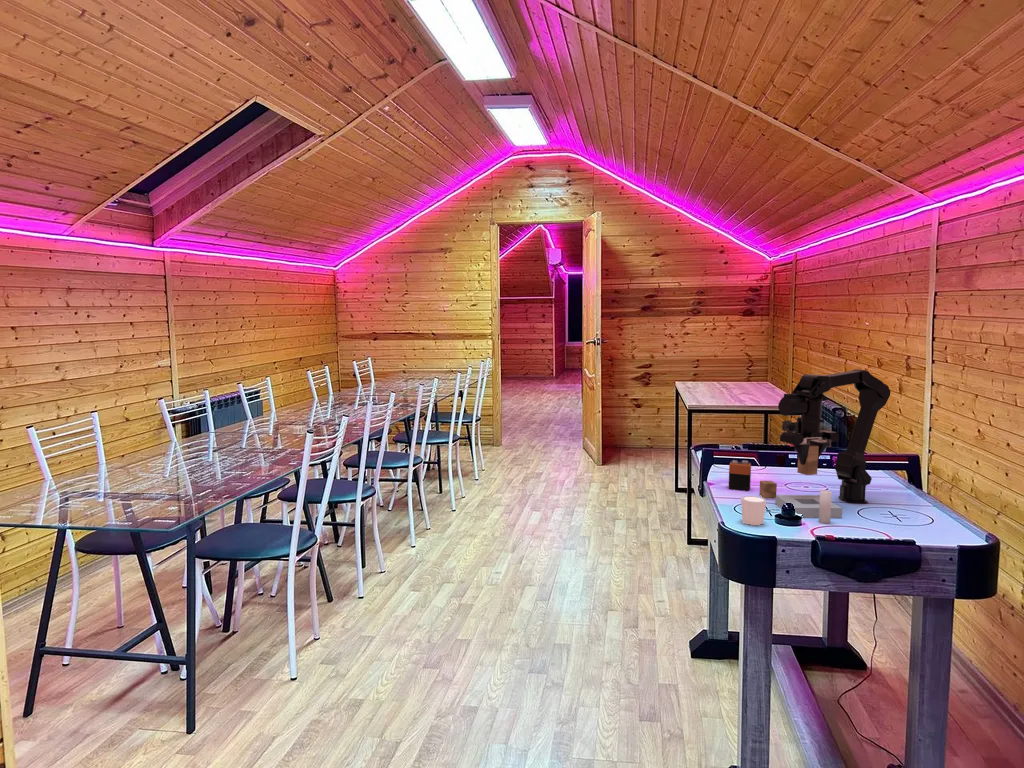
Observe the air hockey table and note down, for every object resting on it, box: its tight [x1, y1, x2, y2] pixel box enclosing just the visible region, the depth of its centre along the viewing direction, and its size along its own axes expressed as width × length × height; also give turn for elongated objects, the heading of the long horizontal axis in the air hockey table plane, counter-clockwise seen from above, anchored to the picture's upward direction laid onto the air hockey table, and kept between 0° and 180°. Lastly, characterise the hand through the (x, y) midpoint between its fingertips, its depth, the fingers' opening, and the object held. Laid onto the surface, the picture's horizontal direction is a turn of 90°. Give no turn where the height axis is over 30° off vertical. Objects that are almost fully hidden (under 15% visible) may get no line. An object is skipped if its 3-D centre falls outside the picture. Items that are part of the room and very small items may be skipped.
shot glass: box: [740, 495, 767, 526], centre depth 184 cm, size 7×7×7 cm
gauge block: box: [775, 489, 843, 525], centre depth 193 cm, size 14×20×9 cm
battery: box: [728, 459, 752, 492], centre depth 221 cm, size 4×7×10 cm, turn 64°
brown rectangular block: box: [797, 443, 819, 476], centre depth 200 cm, size 4×4×9 cm
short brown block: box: [759, 480, 778, 499], centre depth 212 cm, size 4×4×5 cm
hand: (807, 464), depth 200 cm, fingers closed on brown rectangular block, 4 cm apart
